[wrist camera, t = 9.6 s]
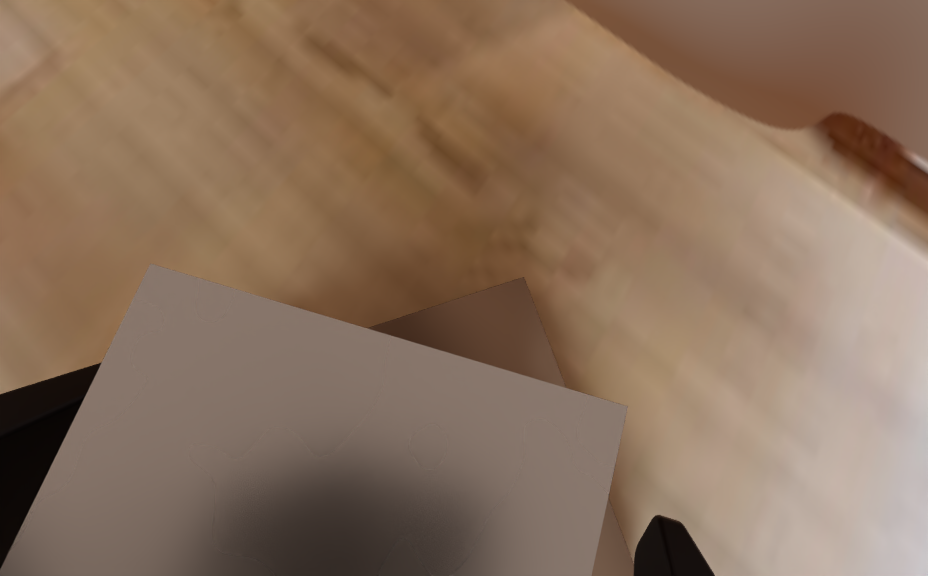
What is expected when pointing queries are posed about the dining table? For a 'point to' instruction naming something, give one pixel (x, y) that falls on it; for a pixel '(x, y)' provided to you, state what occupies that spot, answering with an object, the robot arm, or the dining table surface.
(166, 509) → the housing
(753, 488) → the dining table surface
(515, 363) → the stand
